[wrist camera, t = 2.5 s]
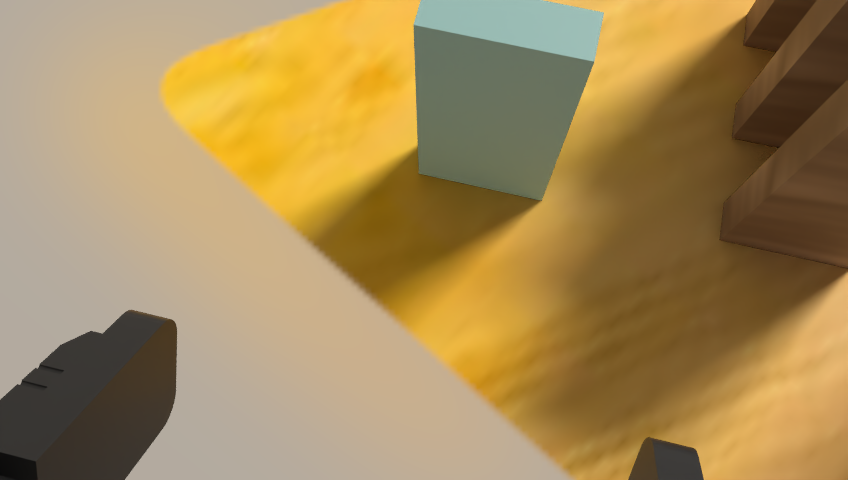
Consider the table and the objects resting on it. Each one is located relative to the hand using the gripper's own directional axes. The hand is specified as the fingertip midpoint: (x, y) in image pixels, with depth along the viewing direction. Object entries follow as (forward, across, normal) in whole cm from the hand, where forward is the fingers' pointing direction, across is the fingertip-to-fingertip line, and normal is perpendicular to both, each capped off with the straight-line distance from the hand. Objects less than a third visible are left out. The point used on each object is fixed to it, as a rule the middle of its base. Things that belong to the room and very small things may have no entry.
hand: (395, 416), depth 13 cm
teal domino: (+18, 0, +2) cm, 19 cm away
